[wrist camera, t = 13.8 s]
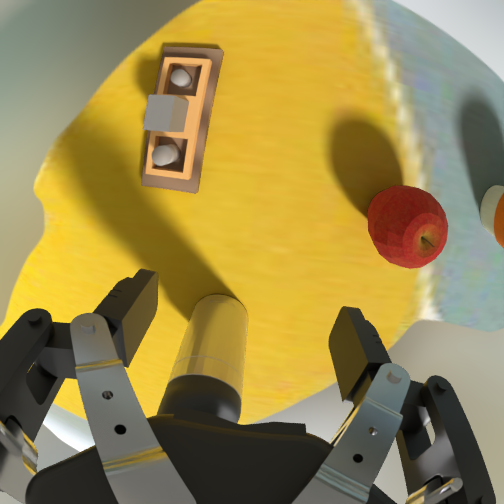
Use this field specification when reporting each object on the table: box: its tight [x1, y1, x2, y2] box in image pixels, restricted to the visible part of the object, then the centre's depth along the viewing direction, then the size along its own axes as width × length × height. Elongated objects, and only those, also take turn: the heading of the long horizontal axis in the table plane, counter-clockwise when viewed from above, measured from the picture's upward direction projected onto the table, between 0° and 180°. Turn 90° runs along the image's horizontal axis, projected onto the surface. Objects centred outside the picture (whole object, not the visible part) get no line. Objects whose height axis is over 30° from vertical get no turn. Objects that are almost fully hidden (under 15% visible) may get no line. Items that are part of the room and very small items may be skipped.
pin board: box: [142, 47, 224, 194], centre depth 31 cm, size 20×8×6 cm, turn 169°
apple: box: [368, 186, 448, 269], centre depth 32 cm, size 10×10×14 cm
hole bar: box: [143, 57, 212, 180], centre depth 29 cm, size 16×6×8 cm, turn 169°
